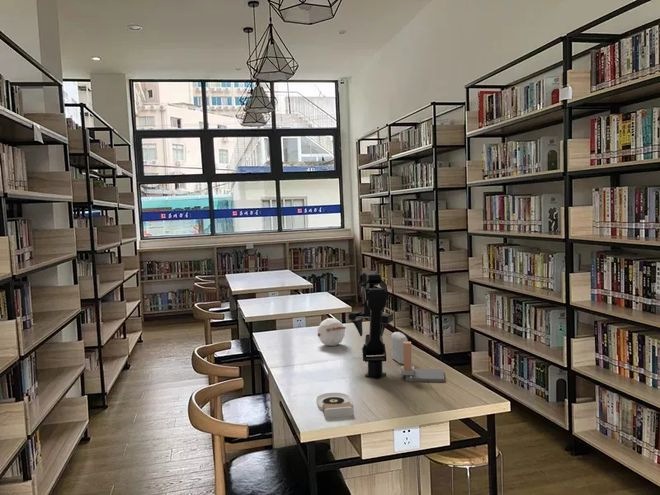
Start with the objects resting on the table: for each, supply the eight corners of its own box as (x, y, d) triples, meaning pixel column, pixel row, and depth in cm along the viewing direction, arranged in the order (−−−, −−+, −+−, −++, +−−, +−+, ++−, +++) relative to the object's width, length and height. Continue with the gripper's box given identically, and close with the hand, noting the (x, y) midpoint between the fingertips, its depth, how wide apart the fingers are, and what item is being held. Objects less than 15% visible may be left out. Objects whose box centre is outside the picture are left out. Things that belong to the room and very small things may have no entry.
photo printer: (409, 363, 226) (408, 334, 226) (400, 364, 225) (399, 335, 224) (399, 357, 236) (398, 329, 235) (390, 358, 235) (389, 330, 234)
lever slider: (401, 375, 206) (400, 344, 205) (401, 369, 213) (400, 340, 212) (414, 375, 205) (413, 344, 204) (414, 369, 212) (413, 340, 211)
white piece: (340, 345, 273) (334, 319, 276) (353, 340, 249) (346, 311, 253) (313, 351, 269) (308, 324, 272) (324, 347, 246) (317, 317, 249)
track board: (405, 381, 204) (405, 377, 203) (406, 371, 215) (406, 368, 215) (444, 381, 201) (444, 378, 201) (442, 372, 213) (442, 369, 213)
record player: (321, 409, 170) (314, 389, 190) (321, 419, 170) (314, 398, 190) (357, 407, 171) (346, 387, 191) (357, 416, 172) (347, 395, 191)
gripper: (398, 298, 226) (399, 335, 227) (359, 296, 235) (360, 331, 237) (386, 303, 216) (387, 341, 217) (347, 300, 226) (348, 336, 227)
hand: (370, 337), depth 225 cm, fingers open, 9 cm apart
